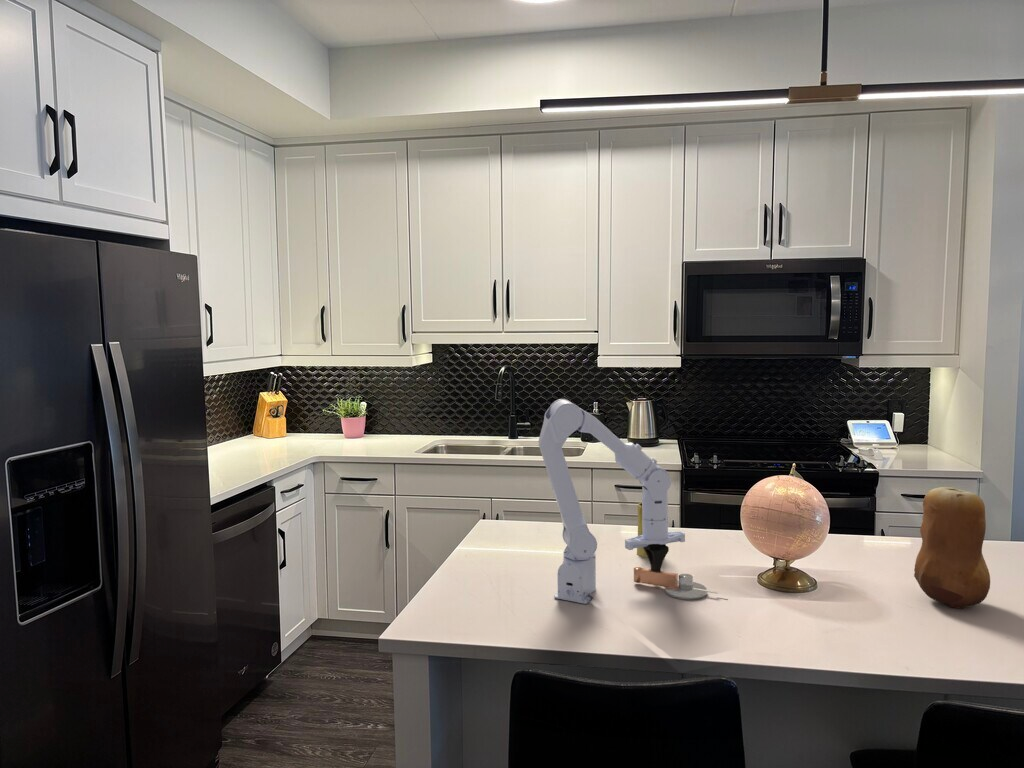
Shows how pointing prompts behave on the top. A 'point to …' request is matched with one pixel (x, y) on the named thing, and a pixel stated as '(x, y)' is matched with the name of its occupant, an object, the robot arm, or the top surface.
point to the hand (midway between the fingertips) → (655, 575)
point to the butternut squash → (953, 548)
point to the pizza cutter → (672, 583)
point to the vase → (640, 531)
